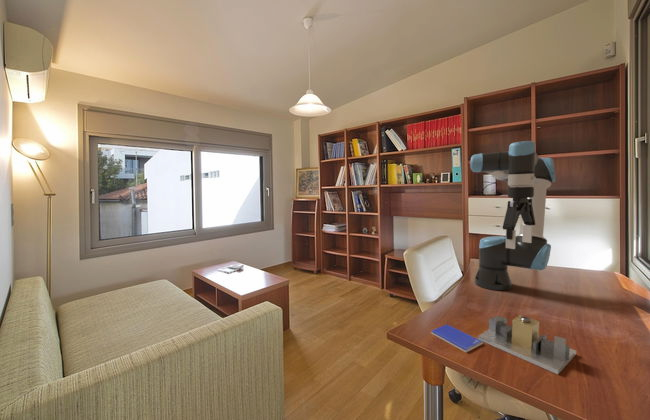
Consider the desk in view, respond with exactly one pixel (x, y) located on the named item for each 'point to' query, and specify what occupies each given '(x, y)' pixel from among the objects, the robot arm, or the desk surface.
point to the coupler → (525, 331)
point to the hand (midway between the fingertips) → (518, 245)
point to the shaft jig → (542, 354)
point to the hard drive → (457, 338)
